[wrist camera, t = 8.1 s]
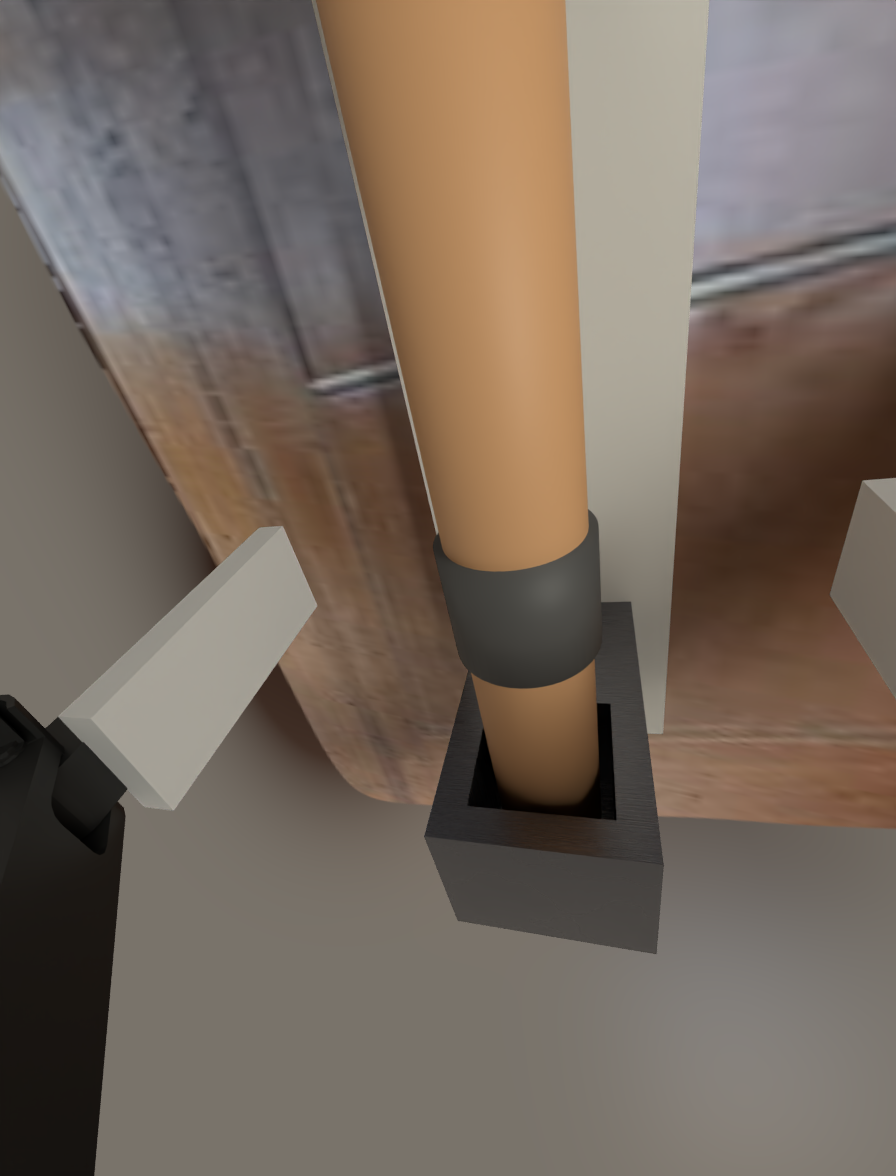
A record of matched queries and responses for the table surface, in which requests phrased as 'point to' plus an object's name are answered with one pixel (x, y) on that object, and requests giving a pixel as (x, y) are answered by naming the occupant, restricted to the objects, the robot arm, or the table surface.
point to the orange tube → (489, 351)
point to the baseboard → (629, 287)
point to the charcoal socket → (558, 824)
